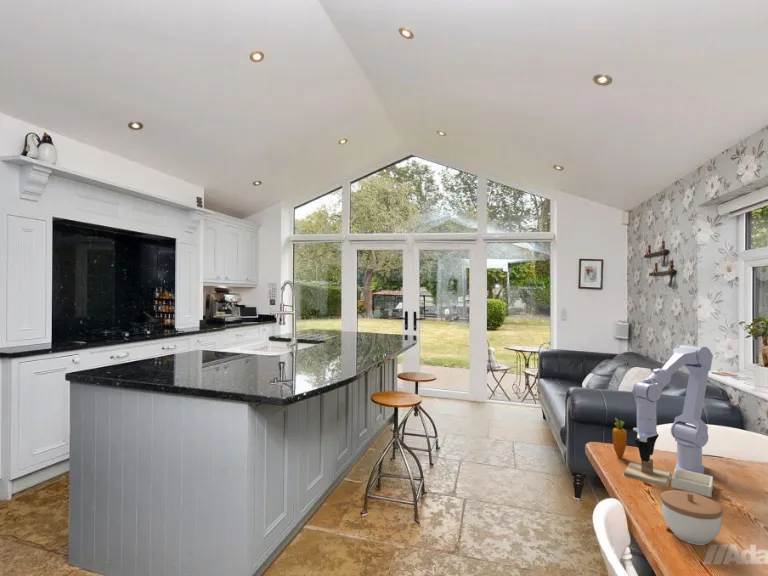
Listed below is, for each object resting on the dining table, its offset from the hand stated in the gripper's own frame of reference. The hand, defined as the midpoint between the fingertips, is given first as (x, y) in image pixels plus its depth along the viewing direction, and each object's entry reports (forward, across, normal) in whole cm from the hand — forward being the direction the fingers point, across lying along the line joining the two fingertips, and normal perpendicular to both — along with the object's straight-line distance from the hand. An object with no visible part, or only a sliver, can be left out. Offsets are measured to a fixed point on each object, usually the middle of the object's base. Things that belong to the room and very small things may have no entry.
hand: (646, 457), depth 141 cm
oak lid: (+6, 0, 0) cm, 6 cm away
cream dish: (+6, +1, +13) cm, 14 cm away
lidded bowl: (+7, +35, +15) cm, 38 cm away
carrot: (+6, -11, -10) cm, 17 cm away
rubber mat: (+6, 0, 0) cm, 6 cm away
